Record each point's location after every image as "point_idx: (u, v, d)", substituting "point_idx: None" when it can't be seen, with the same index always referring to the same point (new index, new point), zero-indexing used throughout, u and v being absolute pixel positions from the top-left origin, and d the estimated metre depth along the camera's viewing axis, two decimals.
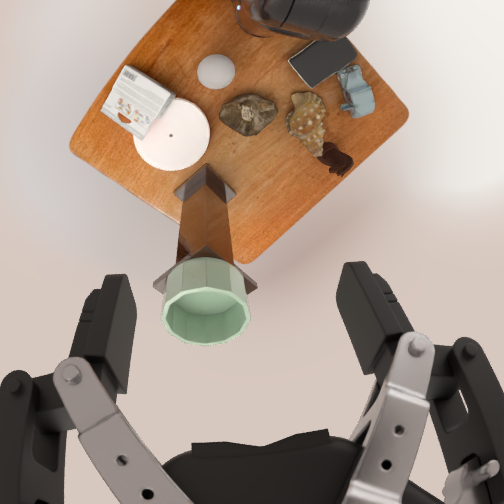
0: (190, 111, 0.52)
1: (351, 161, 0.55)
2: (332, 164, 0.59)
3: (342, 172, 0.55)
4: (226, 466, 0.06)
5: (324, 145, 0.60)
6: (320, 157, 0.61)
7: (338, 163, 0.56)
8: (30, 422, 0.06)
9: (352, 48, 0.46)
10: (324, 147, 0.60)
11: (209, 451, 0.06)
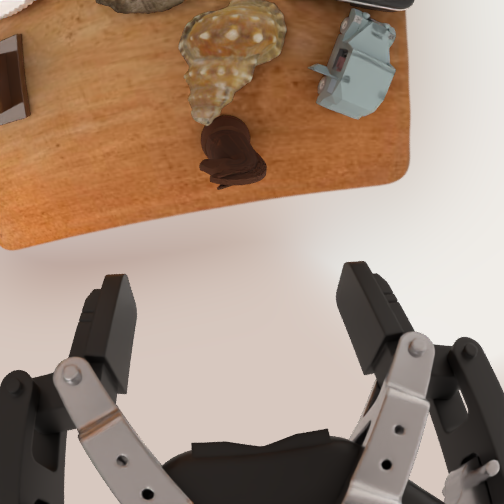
0: None
1: (262, 172, 0.23)
2: (217, 157, 0.25)
3: (225, 180, 0.22)
4: (226, 466, 0.06)
5: (229, 119, 0.27)
6: (205, 135, 0.27)
7: (230, 159, 0.23)
8: (30, 422, 0.06)
9: None
10: (226, 121, 0.27)
11: (208, 451, 0.06)
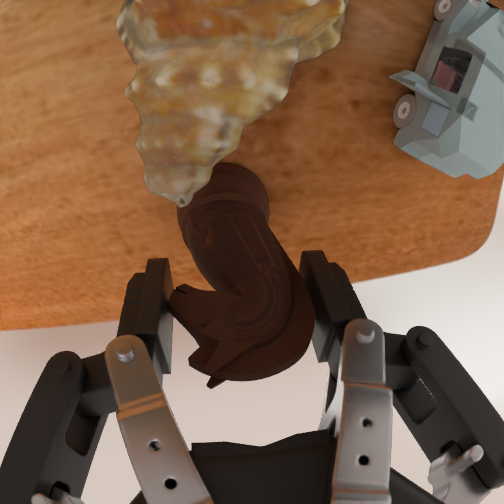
0: None
1: (308, 334, 0.10)
2: (207, 270, 0.12)
3: (224, 371, 0.09)
4: (226, 466, 0.06)
5: (229, 172, 0.14)
6: (184, 207, 0.14)
7: (235, 297, 0.10)
8: (70, 406, 0.06)
9: None
10: (224, 179, 0.14)
11: (208, 451, 0.06)
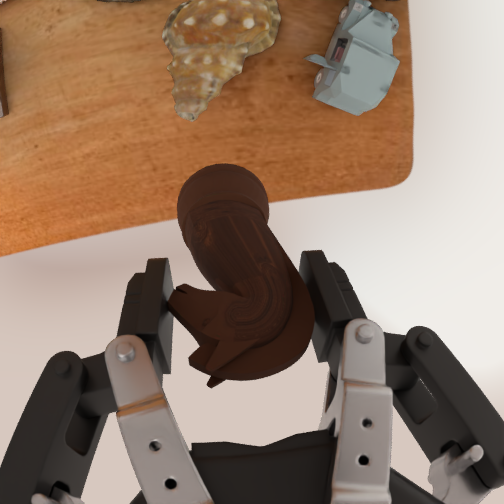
0: None
1: (307, 334, 0.10)
2: (207, 270, 0.12)
3: (224, 371, 0.09)
4: (226, 466, 0.06)
5: (229, 173, 0.14)
6: (184, 207, 0.14)
7: (235, 297, 0.10)
8: (71, 406, 0.06)
9: None
10: (224, 179, 0.14)
11: (208, 451, 0.06)
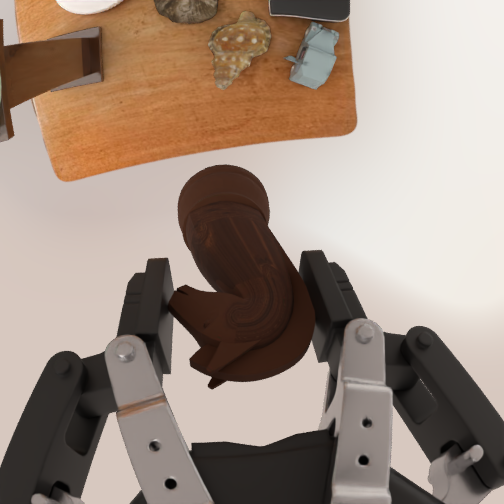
0: None
1: (308, 335, 0.10)
2: (207, 272, 0.12)
3: (225, 372, 0.09)
4: (226, 466, 0.06)
5: (230, 174, 0.14)
6: (184, 208, 0.14)
7: (235, 298, 0.10)
8: (71, 406, 0.06)
9: (347, 9, 0.33)
10: (224, 181, 0.14)
11: (209, 451, 0.06)
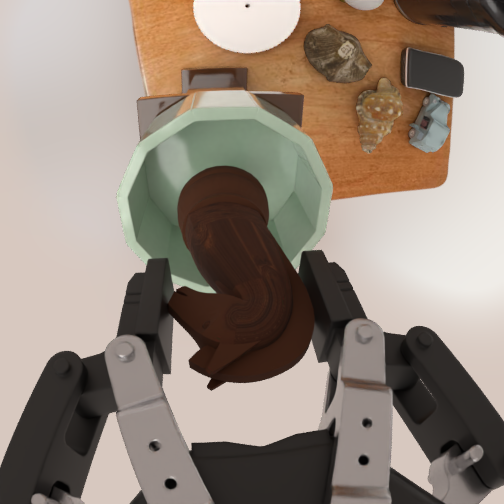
0: (290, 2, 0.32)
1: (307, 336, 0.10)
2: (207, 272, 0.12)
3: (225, 373, 0.09)
4: (226, 466, 0.06)
5: (229, 175, 0.15)
6: (184, 209, 0.14)
7: (235, 299, 0.10)
8: (70, 406, 0.06)
9: (462, 87, 0.39)
10: (224, 181, 0.14)
11: (208, 451, 0.06)
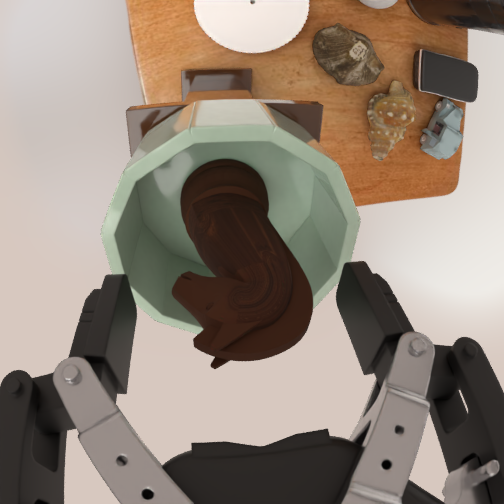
0: None
1: (306, 317, 0.10)
2: (210, 259, 0.13)
3: (228, 351, 0.09)
4: (226, 466, 0.06)
5: (231, 167, 0.15)
6: (187, 200, 0.15)
7: (237, 282, 0.11)
8: (30, 422, 0.06)
9: (476, 92, 0.36)
10: (226, 173, 0.15)
11: (208, 451, 0.06)
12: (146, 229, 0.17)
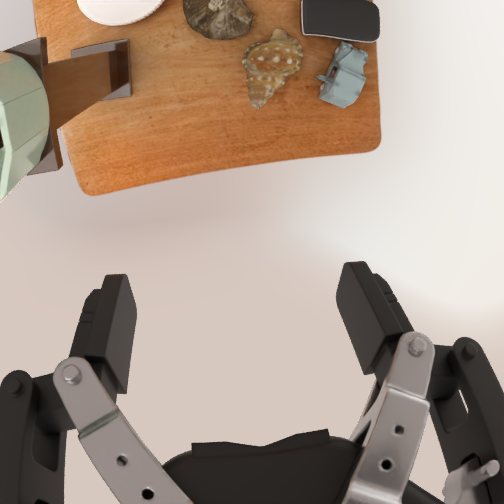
0: None
1: None
2: None
3: None
4: (226, 466, 0.06)
5: None
6: None
7: None
8: (30, 422, 0.06)
9: (377, 30, 0.35)
10: None
11: (208, 451, 0.06)
12: None
